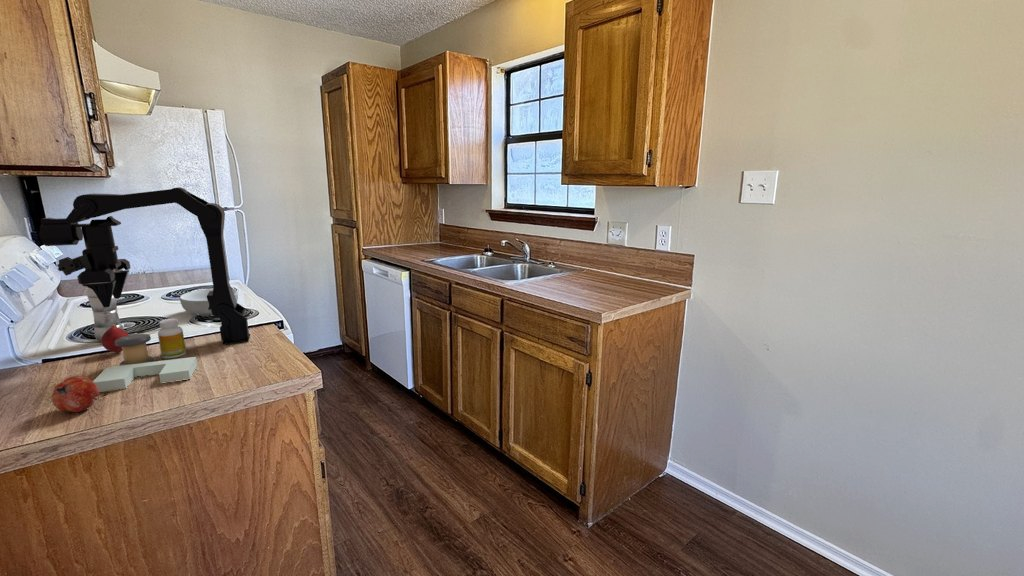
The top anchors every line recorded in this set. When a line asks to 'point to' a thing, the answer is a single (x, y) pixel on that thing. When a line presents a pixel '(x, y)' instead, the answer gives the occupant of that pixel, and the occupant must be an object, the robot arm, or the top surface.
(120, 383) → the notched board
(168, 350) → the supplement bottle
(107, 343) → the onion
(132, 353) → the spool
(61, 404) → the pomegranate
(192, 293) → the cereal bowl
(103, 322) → the plastic bottle
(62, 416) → the top surface
